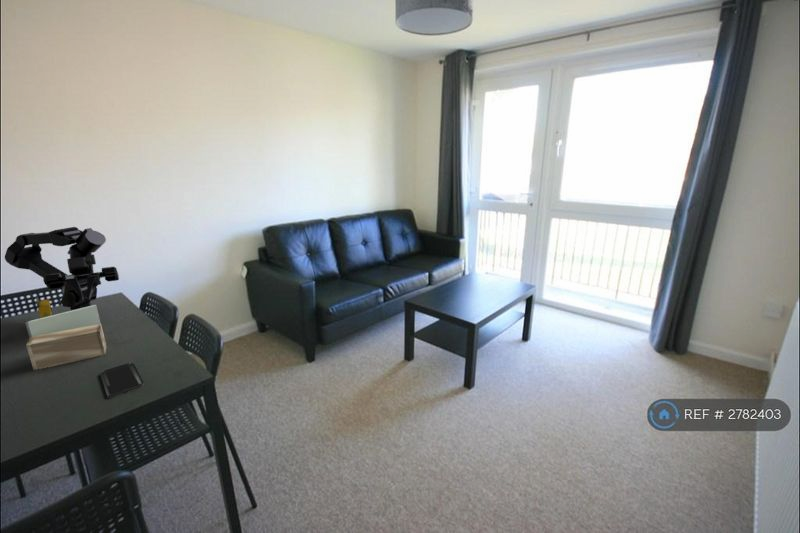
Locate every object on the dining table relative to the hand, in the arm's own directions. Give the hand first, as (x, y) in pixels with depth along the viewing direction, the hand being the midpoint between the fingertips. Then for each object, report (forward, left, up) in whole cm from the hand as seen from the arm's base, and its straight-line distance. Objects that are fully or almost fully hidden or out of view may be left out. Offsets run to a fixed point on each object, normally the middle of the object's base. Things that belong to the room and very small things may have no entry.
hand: (85, 299), depth 121 cm
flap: (+10, -1, -12) cm, 16 cm away
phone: (+31, +22, -13) cm, 40 cm away
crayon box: (-7, -16, -13) cm, 22 cm away
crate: (+16, +2, -13) cm, 20 cm away
